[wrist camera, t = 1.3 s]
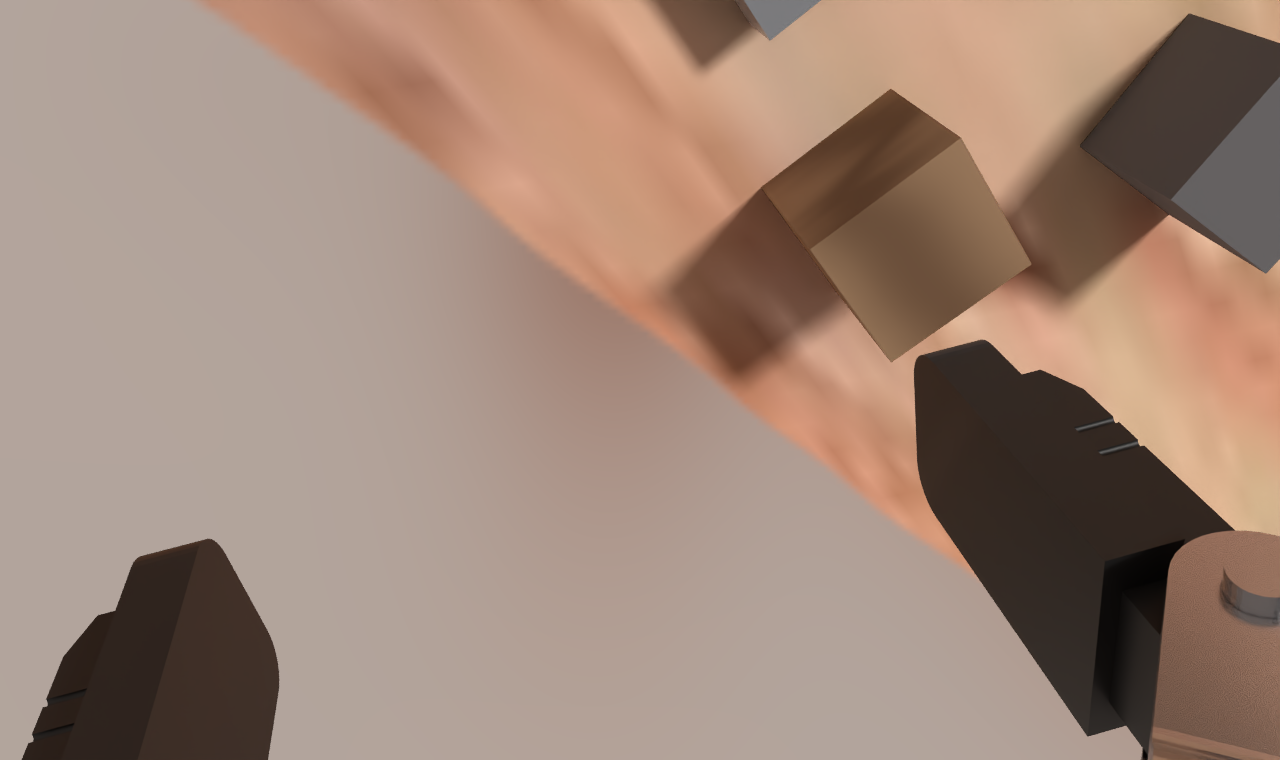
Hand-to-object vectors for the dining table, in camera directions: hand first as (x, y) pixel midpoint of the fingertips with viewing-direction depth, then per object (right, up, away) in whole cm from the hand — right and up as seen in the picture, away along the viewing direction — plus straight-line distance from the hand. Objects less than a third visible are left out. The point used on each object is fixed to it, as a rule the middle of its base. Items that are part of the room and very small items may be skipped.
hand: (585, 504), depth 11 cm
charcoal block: (+19, +10, +23) cm, 31 cm away
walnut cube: (+8, +8, +22) cm, 24 cm away
